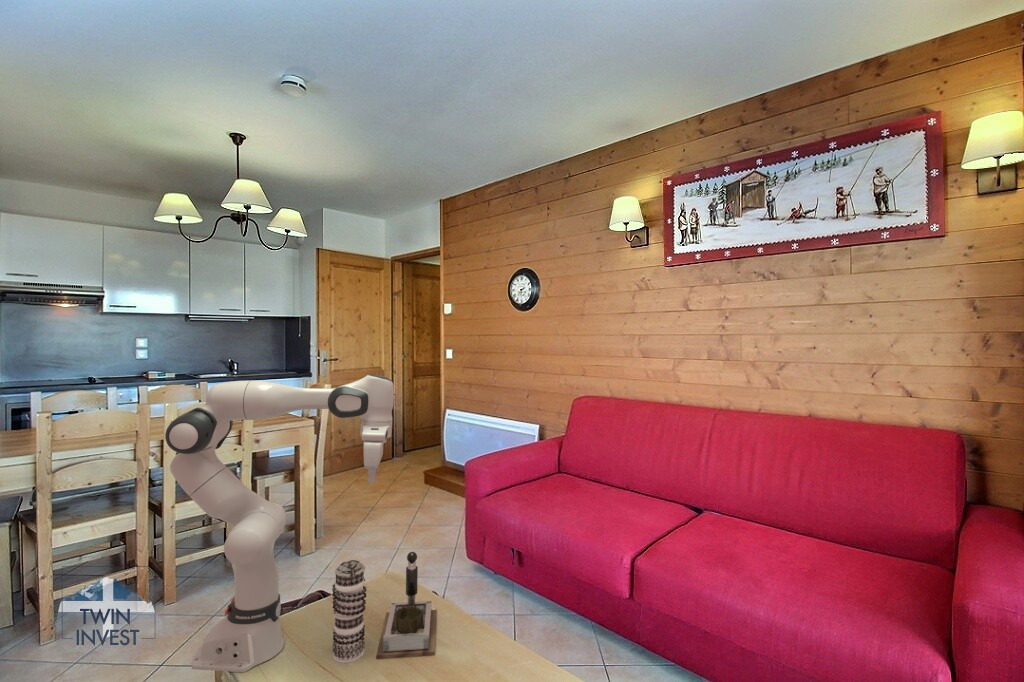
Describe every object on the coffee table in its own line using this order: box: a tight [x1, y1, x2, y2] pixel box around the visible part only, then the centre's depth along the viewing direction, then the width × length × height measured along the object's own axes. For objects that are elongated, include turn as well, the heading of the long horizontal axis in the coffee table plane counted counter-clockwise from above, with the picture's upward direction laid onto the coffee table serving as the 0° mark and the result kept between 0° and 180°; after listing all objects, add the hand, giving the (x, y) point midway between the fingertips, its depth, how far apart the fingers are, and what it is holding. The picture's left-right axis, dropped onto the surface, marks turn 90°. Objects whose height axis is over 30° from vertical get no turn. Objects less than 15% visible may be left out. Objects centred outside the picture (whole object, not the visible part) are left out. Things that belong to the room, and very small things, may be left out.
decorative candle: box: [331, 559, 367, 664], centre depth 137 cm, size 9×9×25 cm
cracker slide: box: [383, 551, 432, 652], centre depth 147 cm, size 12×21×19 cm, turn 7°
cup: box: [396, 605, 421, 634], centre depth 144 cm, size 8×7×8 cm
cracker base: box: [375, 606, 438, 660], centre depth 146 cm, size 16×22×6 cm
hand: (372, 478), depth 142 cm, fingers open, 8 cm apart
